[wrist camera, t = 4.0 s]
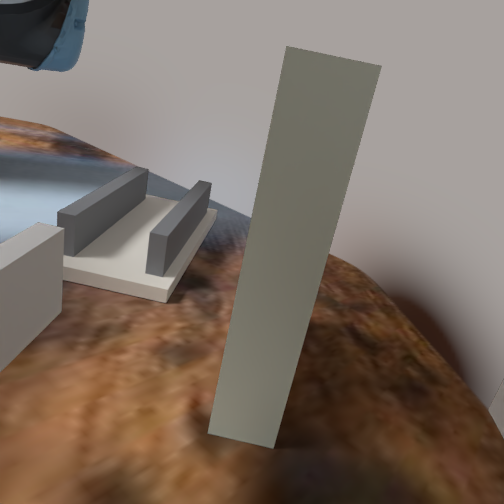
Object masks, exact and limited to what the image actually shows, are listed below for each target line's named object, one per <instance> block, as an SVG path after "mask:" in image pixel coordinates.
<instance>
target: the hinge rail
mask: <svg viewBox="0 0 504 504" xmlns="http://www.w3.org/2000/svg"><path fill="white" fill-rule="evenodd" d="M147 180H148V169H145V168H141V167H135V168H133V169H131V170H130V171H128V172H126V173H124V174H123V175H121V176H119V177H117V178H116V179H114V180H112V181H110V182H109V183H107V184H105V185H103V186H102V187H100V188H98V189H96V190H95V191H93V192H91V193H89V194H88V195H86V196H84V197H82V198H81V199H79V200H77V201H75V202H74V203H72V204H70V205H68V206H67V207H65V208H63V209H61V210H60V211H58V212H57V227H62V228H64V256H63V280H66V281H70V282H75V283H79V284H83V285H88V286H92V287H97V288H101V289H106V290H110V291H114V292H119V293H123V294H128V295H132V296H136V297H141V298H145V299H150V300H154V301H158V302H163V303H166V302H167V301H168V299H169V297H170V296H171V294H172V292H173V291H174V289H175V287H176V286H177V284H178V282H179V280H180V279H181V277H182V275H183V274H184V272H185V270H186V269H187V267H188V265H189V264H190V262H191V260H192V259H193V257H194V255H195V254H196V252H197V250H198V249H199V247H200V245H201V244H202V242H203V240H204V239H205V237H206V235H207V234H208V232H209V230H210V229H211V227H212V225H213V223H214V222H215V220H216V217H217V211H218V210H216V209H211V208H208V203H209V197H210V191H211V185H212V184H211V183H209V182H204V181H198V183H197V184H196V185H195V186H194V187H193V188H192V189H191V190H190V191H189V192H188V193H187V194H186V195H185V196H184V197H183V198H182V199H181V200H180V201H175V200H170V199H166V198H161V197H157V196H152V195H147V194H146V189H147Z"/></svg>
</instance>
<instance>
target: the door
mask: <svg viewBox="0 0 504 504" xmlns="http://www.w3.org/2000/svg"><path fill="white" fill-rule="evenodd" d="M380 70H381V66H380V65H375V64H370V63H365V62H361V61H355V60H351V59H346V58H341V57H336V56H332V55H327V54H322V53H318V52H313V51H308V50H303V49H298V48H294V47H289V46H286V51H285V56H284V61H283V66H282V70H281V76H280V81H279V85H278V90H277V95H276V100H275V105H274V110H273V115H272V120H271V125H270V130H269V134H268V139H267V144H266V150H265V154H264V159H263V164H262V169H261V173H260V178H259V183H258V189H257V193H256V198H255V203H254V208H253V213H252V218H251V223H250V227H249V232H248V237H247V242H246V247H245V252H244V257H243V262H242V267H241V272H240V276H239V281H238V286H237V291H236V296H235V301H234V306H233V311H232V316H231V321H230V326H229V330H228V335H227V340H226V345H225V350H224V355H223V360H222V365H221V370H220V375H219V379H218V384H217V389H216V394H215V399H214V404H213V409H212V414H211V419H210V424H209V429H208V434H212V435H217V436H221V437H225V438H229V439H234V440H238V441H242V442H247V443H251V444H255V445H259V446H264V447H268V448H272V449H273V448H274V445H275V441H276V438H277V434H278V431H279V427H280V424H281V420H282V416H283V413H284V409H285V406H286V402H287V399H288V395H289V392H290V388H291V385H292V381H293V378H294V374H295V371H296V367H297V364H298V360H299V356H300V353H301V349H302V346H303V342H304V339H305V335H306V332H307V328H308V325H309V321H310V318H311V314H312V311H313V307H314V304H315V300H316V296H317V293H318V289H319V286H320V282H321V279H322V275H323V272H324V268H325V265H326V261H327V258H328V254H329V251H330V247H331V244H332V240H333V236H334V233H335V229H336V226H337V222H338V219H339V215H340V212H341V208H342V205H343V201H344V198H345V194H346V191H347V187H348V183H349V180H350V176H351V173H352V169H353V165H354V162H355V159H356V155H357V152H358V148H359V145H360V141H361V138H362V134H363V131H364V127H365V123H366V120H367V116H368V113H369V109H370V106H371V102H372V99H373V95H374V92H375V88H376V85H377V81H378V77H379V74H380Z"/></svg>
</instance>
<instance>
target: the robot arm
mask: <svg viewBox="0 0 504 504" xmlns="http://www.w3.org/2000/svg"><path fill="white" fill-rule="evenodd" d="M88 5H89V0H0V63H6V64H12V65H18V66H24V67H27V68H28V69H30V70H34V71H39V70H50V71H59V72H64V71H68V70H70V69H72V68H73V67H74V65H75V64H76V63H77V61H78V58H79V55H80V52H81V48H82V44H83V39H84V32H85V21H86V16H87V12H88ZM63 256H64V228H62V227H57V226H53V225H48V224H44V223H39V222H38V223H36V224H34V225H33V226H31V227H29V228H27V229H26V230H24V231H22V232H20V233H18V234H17V235H15V236H13V237H11V238H10V239H8V240H6V241H4V242H3V243H1V244H0V372H1V371H2V370H3V369H4V368H5V367H6V366H7V365H8V364H9V363H10V362H11V361H12V360H13V359H14V358H15V357H16V356H17V355H18V354H19V353H20V352H21V351H22V350H23V349H24V348H25V347H26V346H27V345H28V344H29V343H30V342H31V341H32V340H33V339H34V338H35V337H36V336H38V335H39V334H40V333H41V332H42V331H43V330H44V329H45V328H46V327H47V326H48V325H49V324H50V323H51V322H52V321H53V320H54V319H55V318H56V317H57V316H58V315H59V314H60V313H61V312H62V285H63ZM488 410H489V412H490V414H491V416H492V418H493V420H494V422H495V423H496V425H497V427H498V429H499V431H500V433H501V435H502V436H503V438H504V379H503V382H502V383H501V385H500V388H499V389H498V391H497V393H496V395H495V397H494V399H493V401H492V403H491V405H490V407H489V409H488Z"/></svg>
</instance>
